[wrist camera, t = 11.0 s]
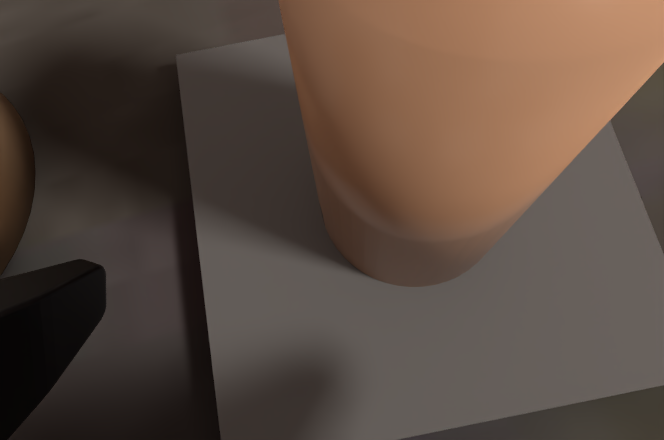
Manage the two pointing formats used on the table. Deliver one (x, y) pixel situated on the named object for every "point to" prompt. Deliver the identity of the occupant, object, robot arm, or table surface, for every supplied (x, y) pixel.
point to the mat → (399, 301)
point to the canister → (454, 115)
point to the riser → (14, 180)
